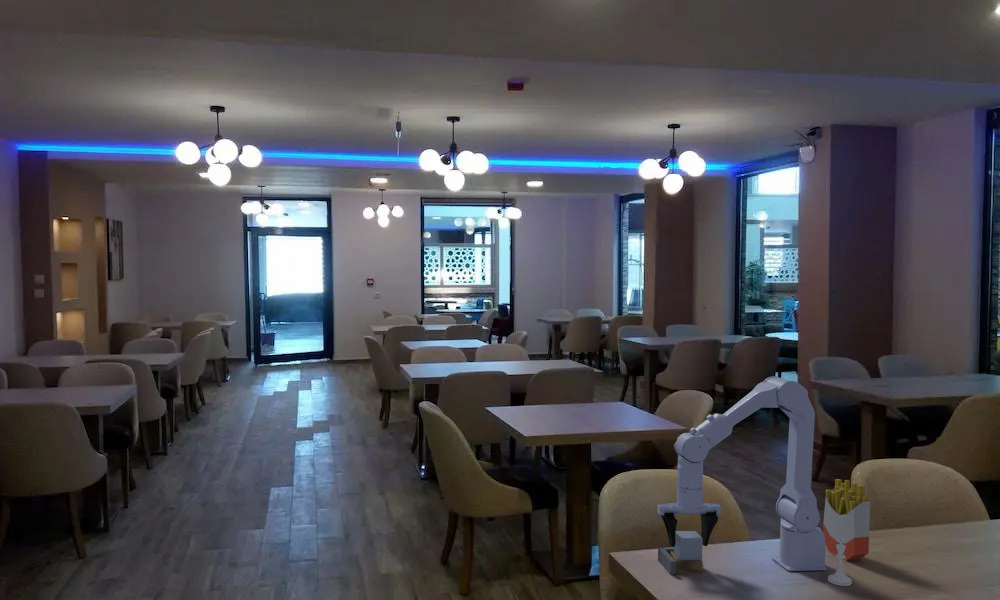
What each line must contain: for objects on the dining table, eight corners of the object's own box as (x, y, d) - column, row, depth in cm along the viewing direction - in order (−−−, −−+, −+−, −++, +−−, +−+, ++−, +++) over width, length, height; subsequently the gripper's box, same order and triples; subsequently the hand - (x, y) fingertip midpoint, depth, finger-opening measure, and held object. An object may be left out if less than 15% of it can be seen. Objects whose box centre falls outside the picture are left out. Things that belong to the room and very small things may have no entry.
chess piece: (854, 587, 164) (856, 541, 164) (830, 584, 165) (831, 539, 165) (848, 578, 169) (850, 534, 169) (825, 576, 170) (826, 532, 170)
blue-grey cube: (694, 552, 176) (695, 531, 176) (702, 560, 171) (702, 538, 171) (673, 552, 176) (674, 531, 176) (680, 560, 171) (681, 538, 171)
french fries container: (852, 565, 177) (854, 488, 177) (821, 549, 188) (823, 477, 187) (868, 563, 178) (870, 488, 178) (836, 547, 189) (839, 476, 188)
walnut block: (695, 564, 176) (695, 552, 176) (702, 574, 170) (702, 561, 170) (669, 564, 176) (670, 551, 176) (675, 574, 170) (675, 561, 170)
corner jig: (693, 559, 179) (693, 547, 178) (707, 573, 170) (708, 560, 170) (657, 560, 178) (658, 547, 178) (670, 574, 169) (670, 561, 169)
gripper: (713, 481, 178) (711, 538, 178) (653, 482, 176) (652, 539, 176) (725, 489, 171) (723, 549, 171) (663, 490, 169) (662, 550, 169)
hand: (688, 545), depth 173 cm, fingers open, 7 cm apart
